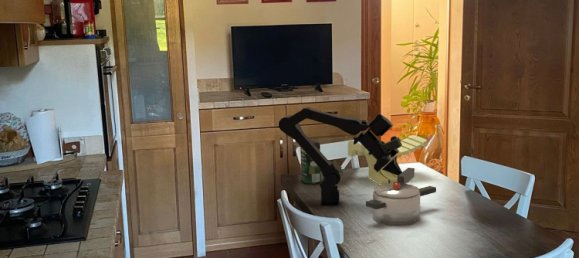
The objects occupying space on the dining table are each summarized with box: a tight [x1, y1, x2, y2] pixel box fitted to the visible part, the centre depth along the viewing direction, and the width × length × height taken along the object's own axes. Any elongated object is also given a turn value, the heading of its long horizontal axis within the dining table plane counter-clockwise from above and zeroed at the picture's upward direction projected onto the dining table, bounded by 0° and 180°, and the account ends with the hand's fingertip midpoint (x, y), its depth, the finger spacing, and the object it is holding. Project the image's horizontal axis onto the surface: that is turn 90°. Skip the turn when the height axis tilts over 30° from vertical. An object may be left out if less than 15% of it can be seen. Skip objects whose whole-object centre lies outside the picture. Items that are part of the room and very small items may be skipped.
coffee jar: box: [299, 138, 322, 185], centre depth 255 cm, size 10×8×19 cm
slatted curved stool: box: [347, 134, 428, 185], centre depth 256 cm, size 30×16×18 cm, turn 105°
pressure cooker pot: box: [365, 185, 437, 227], centre depth 206 cm, size 31×16×9 cm, turn 126°
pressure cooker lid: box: [373, 167, 420, 199], centre depth 207 cm, size 27×15×4 cm, turn 153°
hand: (402, 176), depth 214 cm, fingers closed, pressing on pressure cooker lid
